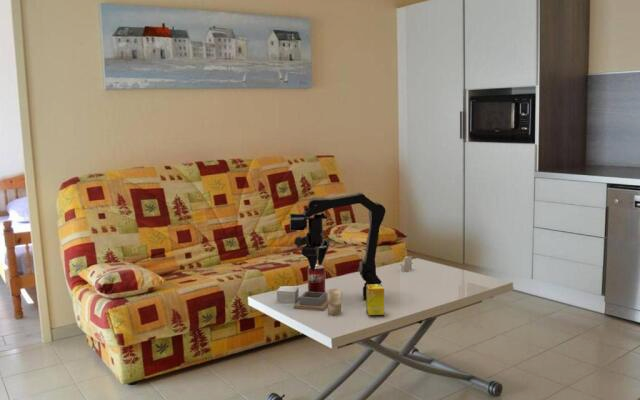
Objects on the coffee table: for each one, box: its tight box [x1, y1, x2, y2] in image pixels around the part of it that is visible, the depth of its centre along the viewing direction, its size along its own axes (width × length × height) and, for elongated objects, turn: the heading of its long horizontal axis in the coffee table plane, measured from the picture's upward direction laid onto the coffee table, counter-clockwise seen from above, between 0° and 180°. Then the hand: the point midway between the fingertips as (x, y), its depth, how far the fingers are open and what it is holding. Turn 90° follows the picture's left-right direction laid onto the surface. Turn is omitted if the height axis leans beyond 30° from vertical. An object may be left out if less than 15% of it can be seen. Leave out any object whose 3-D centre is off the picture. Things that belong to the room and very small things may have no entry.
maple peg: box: [327, 288, 342, 317], centre depth 226 cm, size 5×5×9 cm
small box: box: [276, 285, 300, 304], centre depth 244 cm, size 8×8×5 cm
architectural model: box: [398, 255, 413, 273], centre depth 291 cm, size 3×7×7 cm, turn 134°
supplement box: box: [365, 283, 385, 318], centre depth 224 cm, size 6×6×11 cm
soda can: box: [307, 264, 326, 293], centre depth 251 cm, size 7×7×12 cm
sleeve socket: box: [293, 290, 328, 312], centre depth 237 cm, size 12×12×4 cm
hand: (316, 267), depth 241 cm, fingers open, 9 cm apart
